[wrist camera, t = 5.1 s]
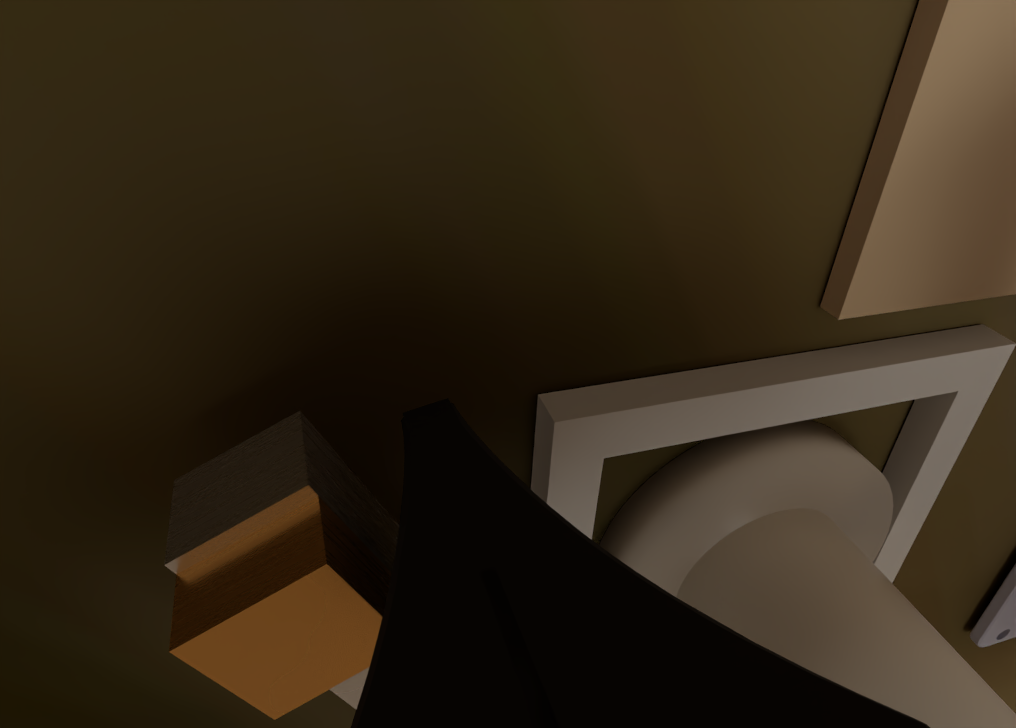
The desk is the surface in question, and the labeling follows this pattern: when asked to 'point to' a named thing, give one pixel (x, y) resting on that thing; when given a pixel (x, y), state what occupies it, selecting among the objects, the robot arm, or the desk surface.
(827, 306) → the coaster
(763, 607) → the plug
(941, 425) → the socket
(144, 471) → the desk surface
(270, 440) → the clip
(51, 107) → the desk surface
